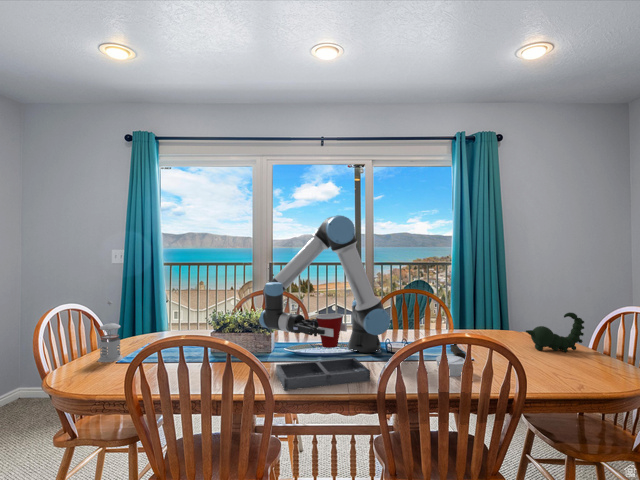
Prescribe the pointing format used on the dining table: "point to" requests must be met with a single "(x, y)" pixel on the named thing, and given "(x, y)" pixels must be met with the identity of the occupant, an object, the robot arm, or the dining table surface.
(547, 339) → the toy figurine
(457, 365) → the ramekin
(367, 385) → the dining table surface
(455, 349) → the hand tool
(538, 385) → the dining table surface
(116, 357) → the french press
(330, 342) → the plastic cup
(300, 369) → the tray
